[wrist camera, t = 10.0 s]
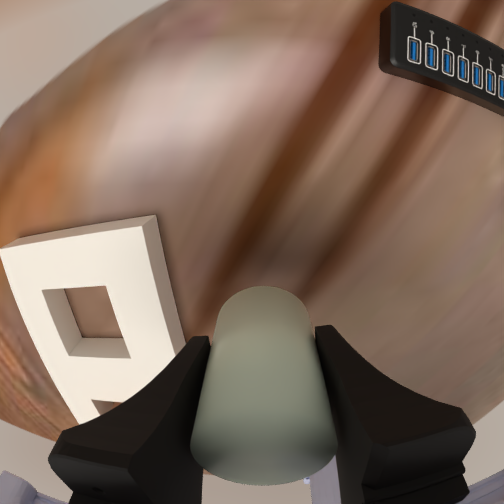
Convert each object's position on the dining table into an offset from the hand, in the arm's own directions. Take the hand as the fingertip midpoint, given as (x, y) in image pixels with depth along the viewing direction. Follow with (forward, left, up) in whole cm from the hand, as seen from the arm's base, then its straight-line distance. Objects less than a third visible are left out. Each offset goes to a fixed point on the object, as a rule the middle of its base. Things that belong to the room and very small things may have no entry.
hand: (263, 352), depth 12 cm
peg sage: (0, 0, -2) cm, 2 cm away
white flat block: (-7, +12, -8) cm, 16 cm away
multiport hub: (+12, -16, -9) cm, 22 cm away
